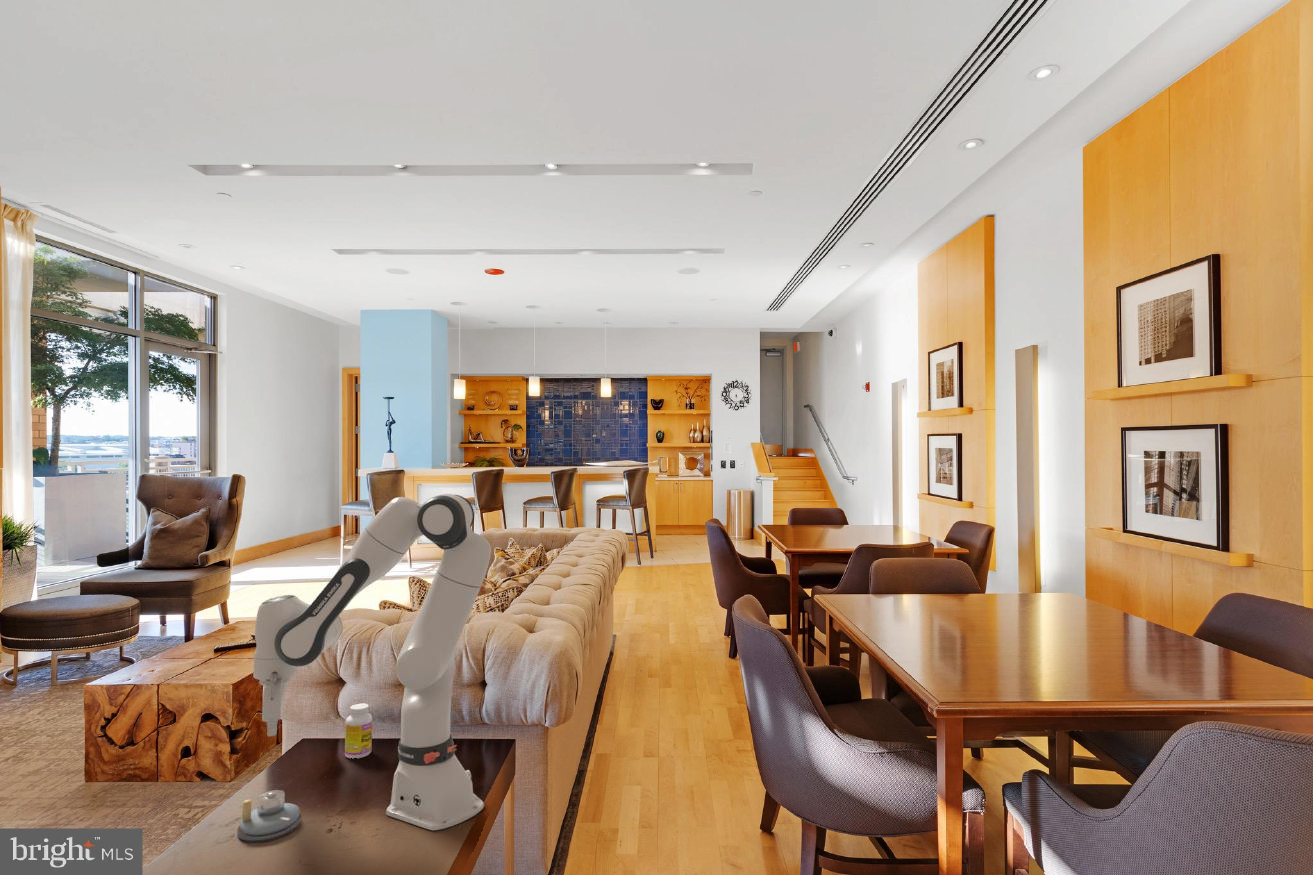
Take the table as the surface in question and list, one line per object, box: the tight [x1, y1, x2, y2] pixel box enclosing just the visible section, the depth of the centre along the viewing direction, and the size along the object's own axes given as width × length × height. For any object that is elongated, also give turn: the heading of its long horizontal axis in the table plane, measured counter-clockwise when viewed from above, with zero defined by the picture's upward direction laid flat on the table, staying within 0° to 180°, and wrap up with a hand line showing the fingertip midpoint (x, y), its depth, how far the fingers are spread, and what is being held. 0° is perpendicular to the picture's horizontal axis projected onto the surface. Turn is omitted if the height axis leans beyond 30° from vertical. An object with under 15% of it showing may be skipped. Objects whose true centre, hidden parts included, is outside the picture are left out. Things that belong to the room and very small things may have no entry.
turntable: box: [239, 799, 300, 835], centre depth 148 cm, size 11×11×5 cm
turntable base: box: [237, 812, 302, 844], centre depth 148 cm, size 12×12×1 cm
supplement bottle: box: [344, 702, 373, 760], centre depth 186 cm, size 7×7×13 cm
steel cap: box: [256, 789, 286, 817], centre depth 151 cm, size 5×5×4 cm
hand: (273, 727), depth 158 cm, fingers open, 8 cm apart
